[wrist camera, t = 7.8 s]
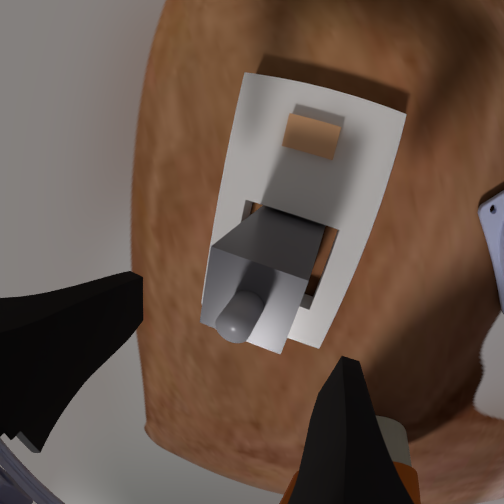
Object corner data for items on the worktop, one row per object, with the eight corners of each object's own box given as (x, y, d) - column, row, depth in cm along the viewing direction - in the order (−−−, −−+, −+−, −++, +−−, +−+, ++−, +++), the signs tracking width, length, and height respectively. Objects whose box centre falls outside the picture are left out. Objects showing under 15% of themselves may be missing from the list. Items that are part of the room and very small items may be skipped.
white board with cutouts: (254, 77, 13) (240, 69, 12) (400, 116, 12) (409, 113, 10) (211, 292, 20) (197, 308, 18) (321, 334, 18) (317, 354, 16)
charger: (266, 202, 16) (189, 263, 9) (326, 221, 15) (300, 305, 8) (253, 256, 18) (181, 343, 10) (308, 275, 17) (269, 380, 9)
